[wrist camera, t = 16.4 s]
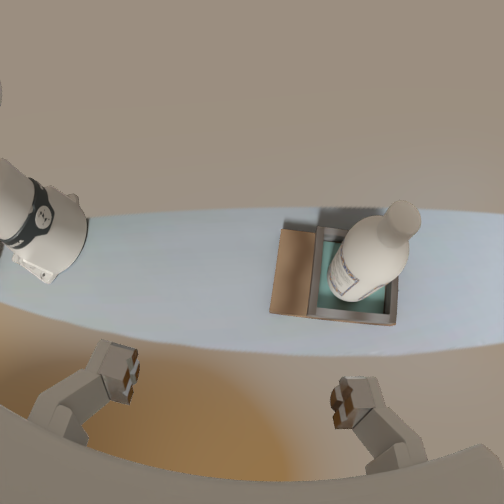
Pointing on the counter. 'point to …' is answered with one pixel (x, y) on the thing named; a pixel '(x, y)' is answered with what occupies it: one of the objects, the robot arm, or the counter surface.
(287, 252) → the tray
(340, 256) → the bath foam
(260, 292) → the counter surface
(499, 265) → the counter surface
